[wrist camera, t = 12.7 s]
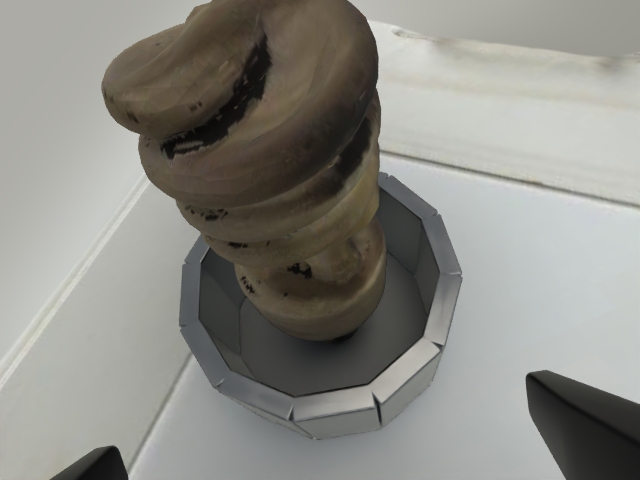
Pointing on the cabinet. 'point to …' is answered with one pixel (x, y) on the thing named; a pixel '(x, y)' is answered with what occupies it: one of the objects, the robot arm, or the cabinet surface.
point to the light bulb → (269, 150)
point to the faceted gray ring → (343, 403)
